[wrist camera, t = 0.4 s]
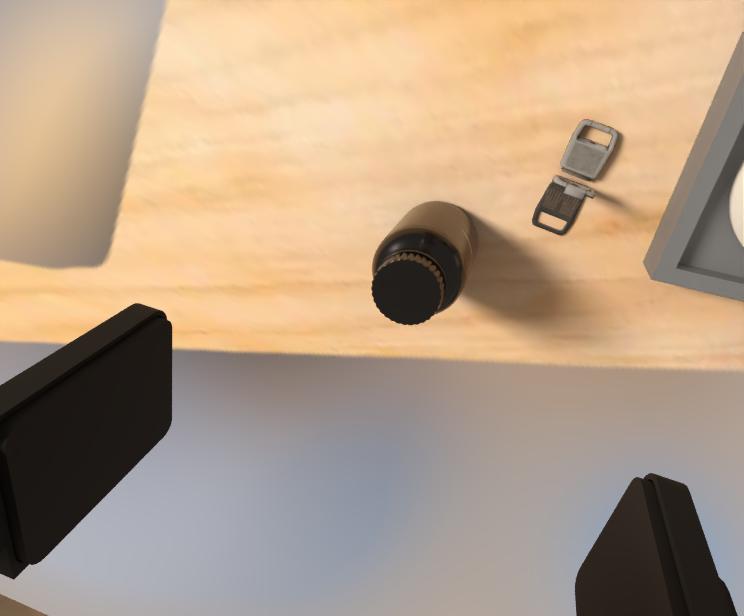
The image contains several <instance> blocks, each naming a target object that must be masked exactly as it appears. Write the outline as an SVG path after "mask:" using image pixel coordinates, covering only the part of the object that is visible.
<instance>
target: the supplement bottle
mask: <svg viewBox="0 0 744 616" xmlns="http://www.w3.org/2000/svg"><path fill="white" fill-rule="evenodd" d="M476 248H477V234H476V230H475V227H474V225H473V223H472V221H471V220H470V218H469V217H468V216H467V215H466V213H465V212H463V211H462V210H461V209H460V208H458V207H456V206H454V205H452V204H450V203H446V202H441V201H431V202H426V203H423V204H420V205H418V206H416V207H415V208H413V209H412V210H410V211H409V212H408V213H407V214H406V215H405V216H404V217H403V218H402V220H401V221H400V222H399V223H398V224H397V225H396V226H395V227H394V229H393V230H392V231H391V232H390V233H389V234H388V235H387V236H386V238H385V239H384V240H383V241H382V242H381V244H380V245H379V247H378V248H377V250H376V253H375V255H374V258H373V264H372V274H373V281H372V288H371V289H372V296H373V298H374V302H375V303H376V307H377V308H378V309H379V310H380V312H381V313H382V314H384V315H385V317H387V318H389V319H390V320H391V321H395V322H396V323H401V324H403V325H407V324H408V325H413V324H416V325H418V324H419V323H424V322H425V321H426V320H429V319H430V318H431V316H433V315H435V314H438V313H440V312H442V311H444V310H446V309H447V308H449V307H450V306H451V305H452V304H453V303H454V302H455V301H456V300H457V298H458V297H459V295H460V294H461V292H462V290H463V287H464V285H465V282H466V279H467V276H468V273H469V270H470V268H471V265H472V262H473V259H474V256H475V253H476Z"/></svg>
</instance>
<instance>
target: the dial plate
mask: <svg viewBox="0 0 744 616" xmlns="http://www.w3.org/2000/svg"><path fill="white" fill-rule="evenodd" d="M743 160H744V32H742V34H741V37H740V39H739V41H738V44H737V46H736V48H735V51H734V53H733V55H732V58H731V60H730V62H729V64H728V67H727V69H726V71H725V74H724V76H723V78H722V81H721V83H720V85H719V88H718V90H717V92H716V95H715V97H714V99H713V102H712V104H711V106H710V108H709V111H708V113H707V115H706V118H705V120H704V122H703V125H702V127H701V129H700V132H699V134H698V136H697V139H696V141H695V143H694V146H693V148H692V150H691V152H690V155H689V157H688V159H687V162H686V164H685V166H684V169H683V171H682V173H681V176H680V178H679V180H678V183H677V185H676V187H675V190H674V192H673V194H672V197H671V199H670V201H669V203H668V206H667V208H666V210H665V213H664V215H663V217H662V220H661V222H660V224H659V227H658V229H657V231H656V234H655V236H654V238H653V241H652V243H651V245H650V247H649V250H648V252H647V254H646V257H645V259H644V261H643V263H644V265H645V268H646V270H647V272H648V274H649V276H650V278H651V280H655V281H660V282H664V283H668V284H672V285H676V286H681V287H685V288H689V289H693V290H697V291H702V292H706V293H710V294H714V295H718V296H723V297H727V298H731V299H735V300H739V301H744V247H743V246H742V245H741V244H740V243H739V241H738V240H737V238H736V236H735V235H734V233H733V230H732V228H731V225H730V221H729V217H728V196H729V191H730V187H731V184H732V181H733V179H734V176H735V174H736V172H737V170H738V168H739V166H740V165H741V163H742V161H743Z"/></svg>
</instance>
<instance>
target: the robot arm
mask: <svg viewBox="0 0 744 616" xmlns="http://www.w3.org/2000/svg"><path fill="white" fill-rule="evenodd" d="M171 422H172V324H171V322H170V321H168V320H167V316H166V314H165V313H164V312H163V311H161V310H158V309H154V308H151V307H148V306H145V305H142V304H138V303H135V304H133V305H131V306H129V307H128V308H126V309H124V310H123V311H121V312H119V313H118V314H116V315H115V316H113V317H111V318H110V319H108V320H106V321H105V322H103V323H101V324H100V325H98V326H97V327H95V328H93V329H92V330H90V331H88V332H87V333H85V334H84V335H82V336H80V337H79V338H77V339H75V340H74V341H72V342H70V343H69V344H67V345H66V346H64V347H62V348H61V349H59V350H58V351H56V352H54V353H53V354H51V355H49V356H48V357H46V358H44V359H43V360H41V361H40V362H38V363H37V364H35V365H33V366H31V367H30V368H28V369H26V370H25V371H23V372H22V373H20V374H18V375H17V376H15V377H13V378H12V379H10V380H9V381H7V382H5V383H4V384H2V385H0V574H3V575H5V576H7V577H9V578H11V579H15V578H16V577H17V576H18V575H19V574H20V573H21V572H22V571H23V570H24V569H25V568H26V567H27V566H28V565H29V564H31V565H34V564H37V563H38V562H40V561H42V559H44V558H45V557H46V556H47V555H48V554H49V553H50V552H51V551H52V550H53V549H54V548H55V547H56V546H57V545H58V544H59V543H60V542H61V541H62V540H63V539H64V538H65V537H66V536H67V534H68V533H70V532H71V531H72V530H73V529H74V527H75V526H76V525H77V524H78V523H79V522H80V521H81V520H82V519H83V518H84V517H85V516H86V515H87V514H88V513H89V512H90V511H91V510H92V509H93V508H94V507H95V506H96V505H97V504H98V503H99V502H100V501H101V500H102V499H103V498H104V497H105V496H106V495H107V494H108V493H109V492H110V491H111V490H112V489H113V488H114V487H115V486H116V485H117V484H118V483H119V482H120V481H121V480H122V479H123V478H124V477H125V476H126V475H127V474H128V473H129V472H130V471H131V470H132V468H134V466H135V465H137V464H138V462H139V461H140V460H141V459H142V458H143V457H144V456H145V455H146V454H147V453H148V452H149V451H150V450H151V449H152V448H153V447H154V446H155V445H156V444H157V443H158V442H159V441H160V440H161V439H162V438H163V437H164V436H165V435H166V433H167V431H168V430H169V427H170V425H171ZM575 598H576V613H577V616H738V615H737V613H736V610H735V607H734V604H733V601H732V598H731V596H730V593H729V591H728V589H727V587H726V585H725V583H724V582H723V581H722V580H721V579H720V578H719V577H718V573H717V570H716V567H715V564H714V562H713V559H712V556H711V553H710V550H709V547H708V544H707V541H706V538H705V535H704V532H703V530H702V527H701V524H700V521H699V518H698V515H697V512H696V509H695V506H694V503H693V500H692V497H691V494H690V492H689V489H688V487H687V486H686V485H684V484H683V483H680V482H677V481H674V480H671V479H668V478H665V477H662V476H659V475H656V474H653V473H649V474H648V475H646V476H645V477H644V479H642V478H639V477H636V478H634V479H633V480H632V482H631V483H630V485H629V486H628V488H627V490H626V491H625V493H624V495H623V497H622V498H621V500H620V502H619V503H618V505H617V507H616V508H615V510H614V512H613V513H612V515H611V517H610V518H609V520H608V522H607V524H606V525H605V527H604V528H603V530H602V532H601V534H600V535H599V537H598V539H597V540H596V542H595V544H594V545H593V547H592V549H591V551H590V552H589V554H588V556H587V557H586V559H585V561H584V562H583V564H582V566H581V567H580V569H579V571H578V574H577V578H576V583H575ZM0 616H47V615H46V614H43V613H41V612H39V611H37V610H34V609H32V608H30V607H28V606H25V605H23V604H21V603H19V602H16V601H14V600H12V599H10V598H8V597H6V596H3V595H1V594H0Z"/></svg>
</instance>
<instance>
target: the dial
mask: <svg viewBox="0 0 744 616" xmlns="http://www.w3.org/2000/svg"><path fill="white" fill-rule="evenodd" d="M728 217H729V221H730V225H731V228H732V230H733V233H734V235H735V236H736V238H737V240H738V241H739V243H740V244H741V245H742V246H743V247H744V160H743V161H742V163H741V165H740V166H739V168H738V170H737V172H736V174H735V176H734V179H733V181H732V184H731V187H730V191H729V196H728Z"/></svg>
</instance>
